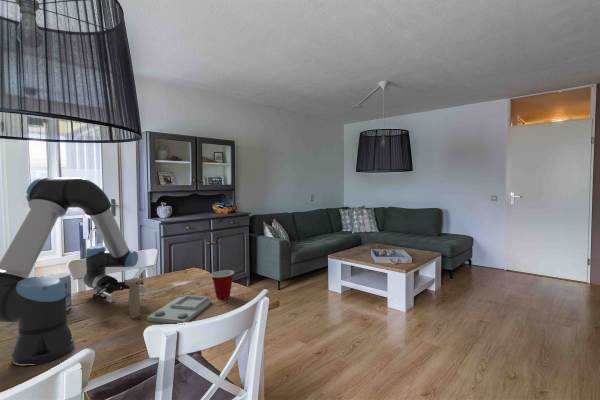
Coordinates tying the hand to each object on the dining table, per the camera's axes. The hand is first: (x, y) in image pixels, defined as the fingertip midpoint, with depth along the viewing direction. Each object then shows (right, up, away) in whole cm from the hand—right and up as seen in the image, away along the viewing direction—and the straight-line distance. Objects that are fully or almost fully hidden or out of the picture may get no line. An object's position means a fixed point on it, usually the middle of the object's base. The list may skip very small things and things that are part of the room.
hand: (128, 294), depth 129 cm
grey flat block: (+21, -8, +2) cm, 22 cm away
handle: (+4, -8, -3) cm, 10 cm away
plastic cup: (+34, -7, +18) cm, 39 cm away
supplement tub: (-31, -8, +3) cm, 32 cm away
